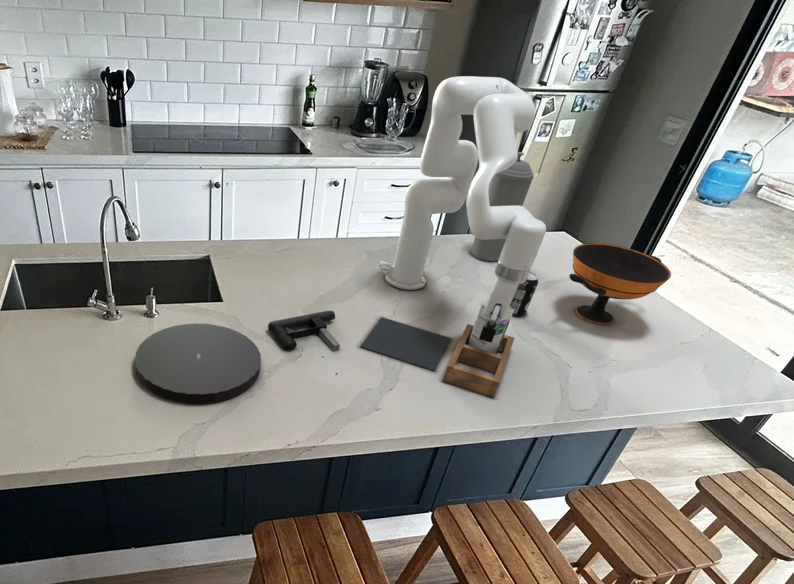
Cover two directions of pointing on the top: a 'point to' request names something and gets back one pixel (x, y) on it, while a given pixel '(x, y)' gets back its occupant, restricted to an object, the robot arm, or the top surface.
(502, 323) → the syrup box
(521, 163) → the canister
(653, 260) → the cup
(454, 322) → the top surface
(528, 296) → the beverage can
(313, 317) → the door handle
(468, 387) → the rack
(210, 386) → the disc
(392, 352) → the mat
